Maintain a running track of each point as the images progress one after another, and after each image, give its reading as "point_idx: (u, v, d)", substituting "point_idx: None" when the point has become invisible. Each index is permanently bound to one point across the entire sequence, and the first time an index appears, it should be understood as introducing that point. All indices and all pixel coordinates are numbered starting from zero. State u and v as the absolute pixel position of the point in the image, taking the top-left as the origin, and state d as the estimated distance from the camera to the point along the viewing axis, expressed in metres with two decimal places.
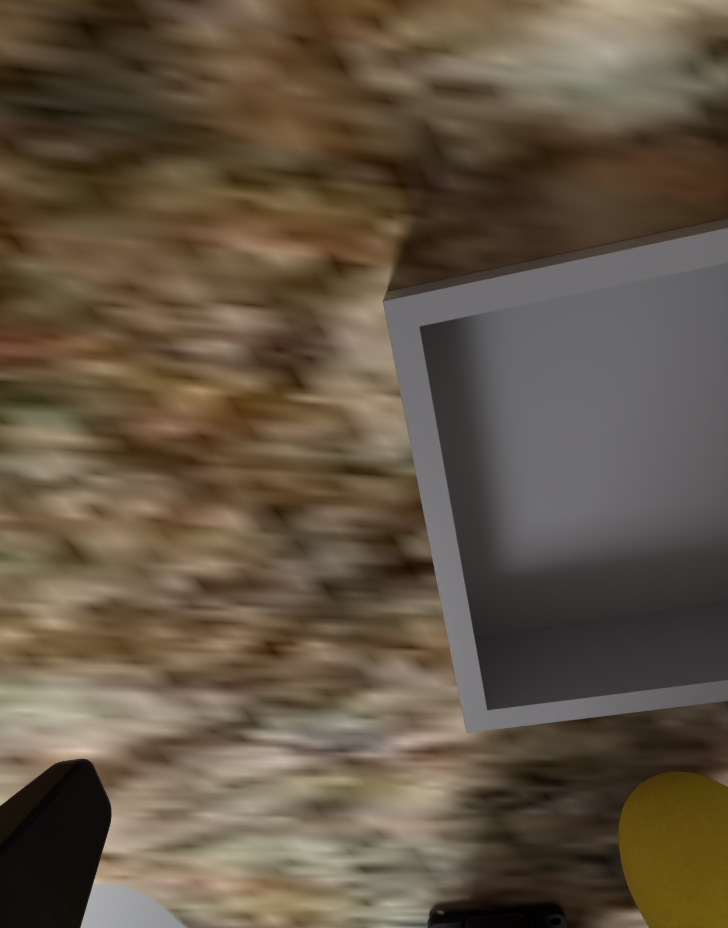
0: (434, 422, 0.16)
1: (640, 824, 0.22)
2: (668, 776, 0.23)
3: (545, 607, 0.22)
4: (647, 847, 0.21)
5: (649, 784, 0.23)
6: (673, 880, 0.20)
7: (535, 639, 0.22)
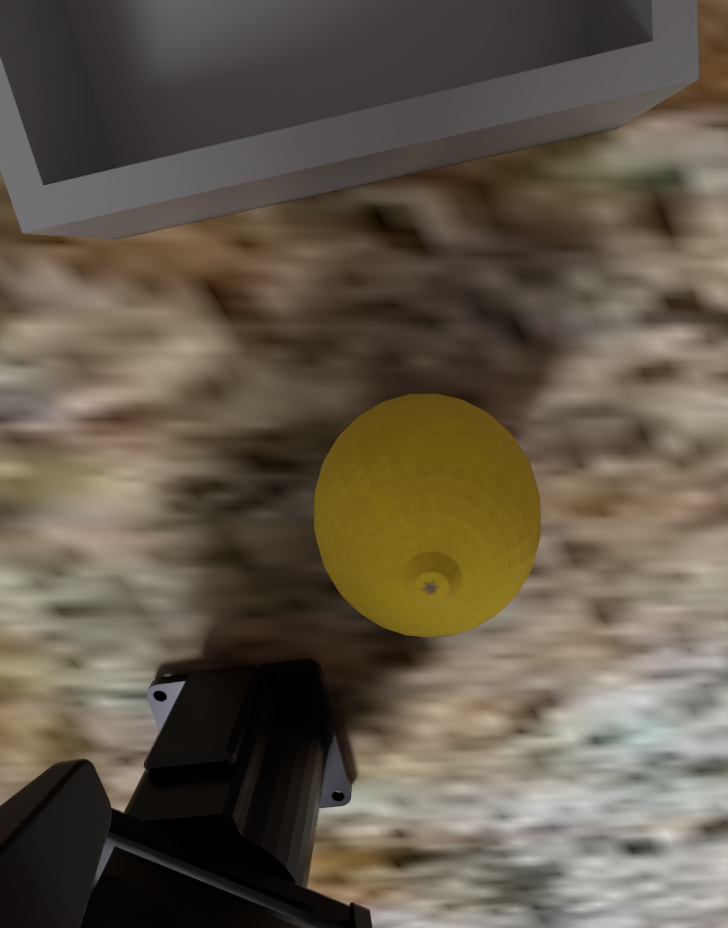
0: None
1: None
2: None
3: (214, 143, 0.16)
4: (329, 455, 0.14)
5: None
6: (338, 468, 0.13)
7: None
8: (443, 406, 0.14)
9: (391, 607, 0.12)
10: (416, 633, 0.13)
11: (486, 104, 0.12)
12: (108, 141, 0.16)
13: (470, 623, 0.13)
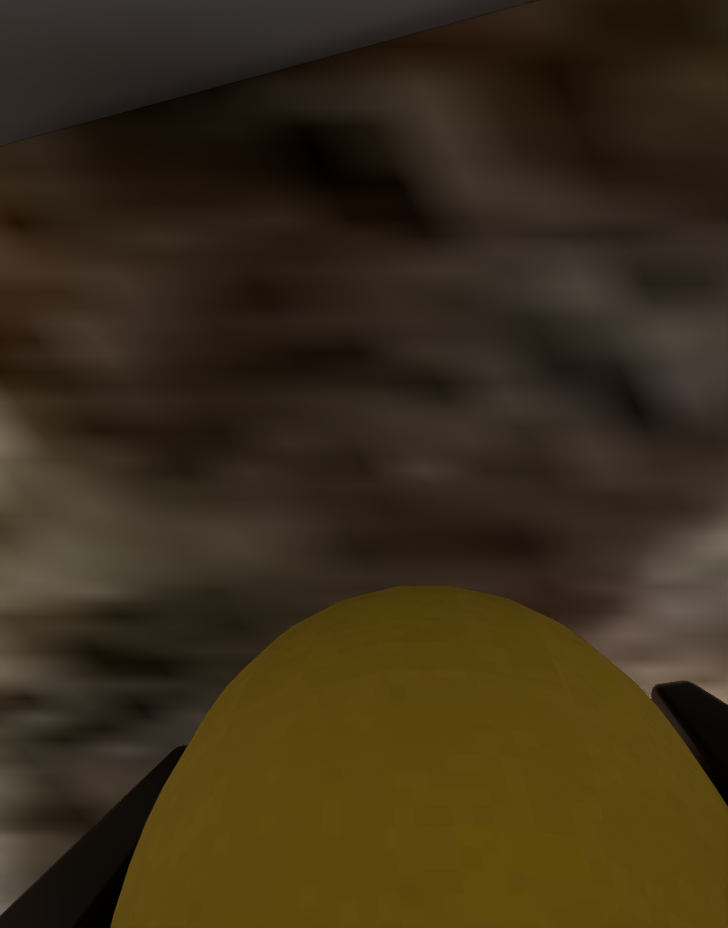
0: None
1: None
2: (365, 594, 0.07)
3: None
4: (149, 829, 0.05)
5: (301, 622, 0.07)
6: None
7: None
8: (495, 724, 0.04)
9: None
10: None
11: None
12: None
13: None
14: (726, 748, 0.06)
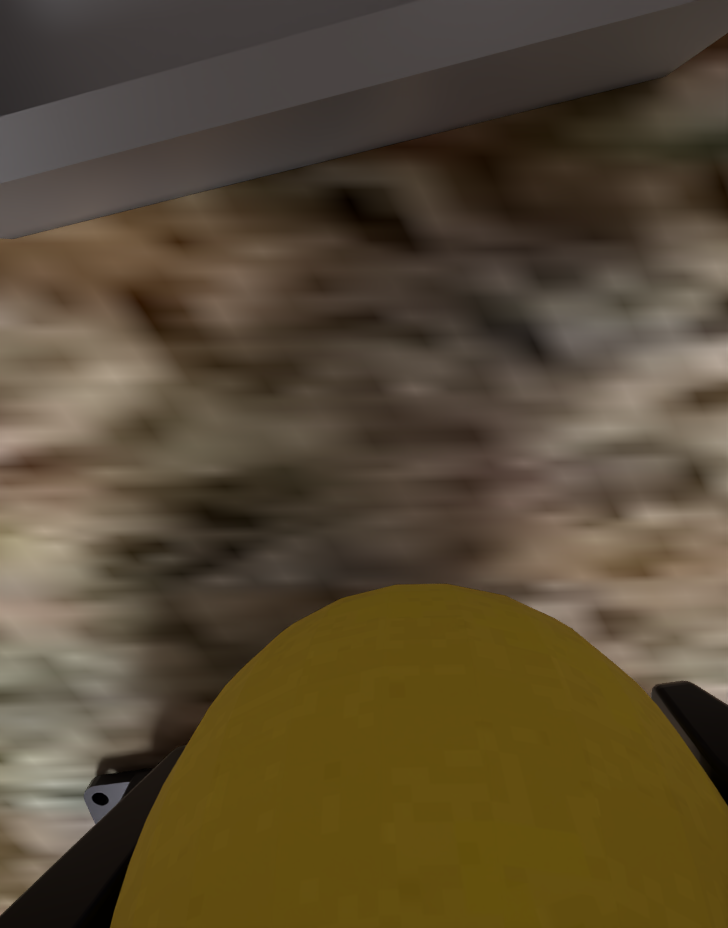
0: None
1: None
2: (365, 592, 0.07)
3: None
4: (150, 825, 0.05)
5: (301, 620, 0.07)
6: None
7: None
8: (493, 720, 0.04)
9: None
10: None
11: (493, 17, 0.08)
12: None
13: None
14: (726, 748, 0.06)
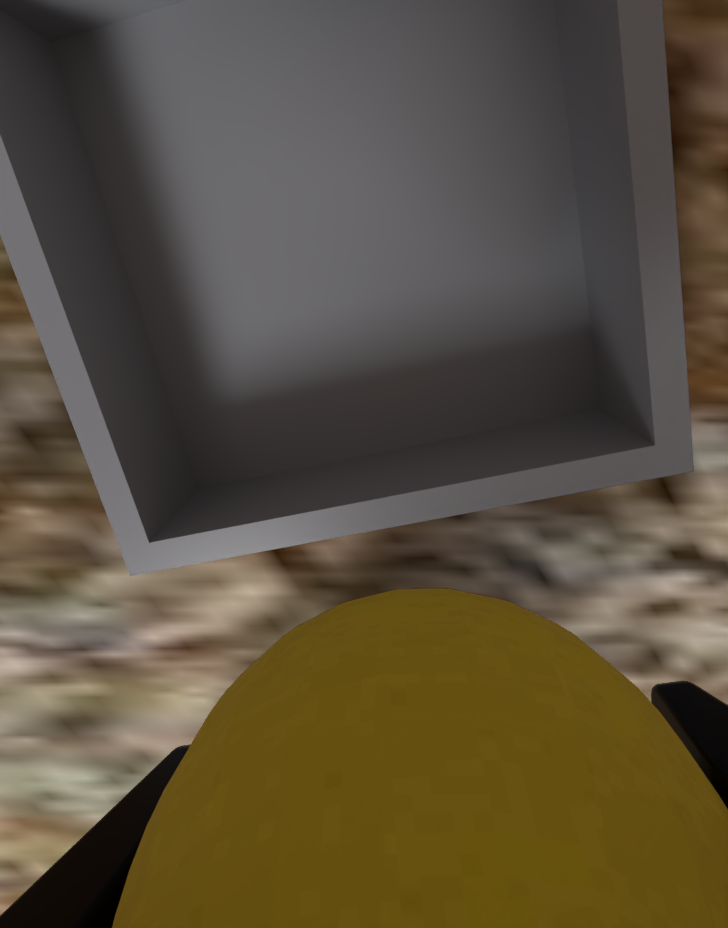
0: None
1: None
2: (366, 597, 0.07)
3: (277, 445, 0.18)
4: (150, 832, 0.05)
5: (302, 624, 0.07)
6: None
7: (261, 482, 0.18)
8: (496, 729, 0.04)
9: None
10: None
11: (519, 487, 0.14)
12: (185, 444, 0.18)
13: None
14: (725, 748, 0.06)
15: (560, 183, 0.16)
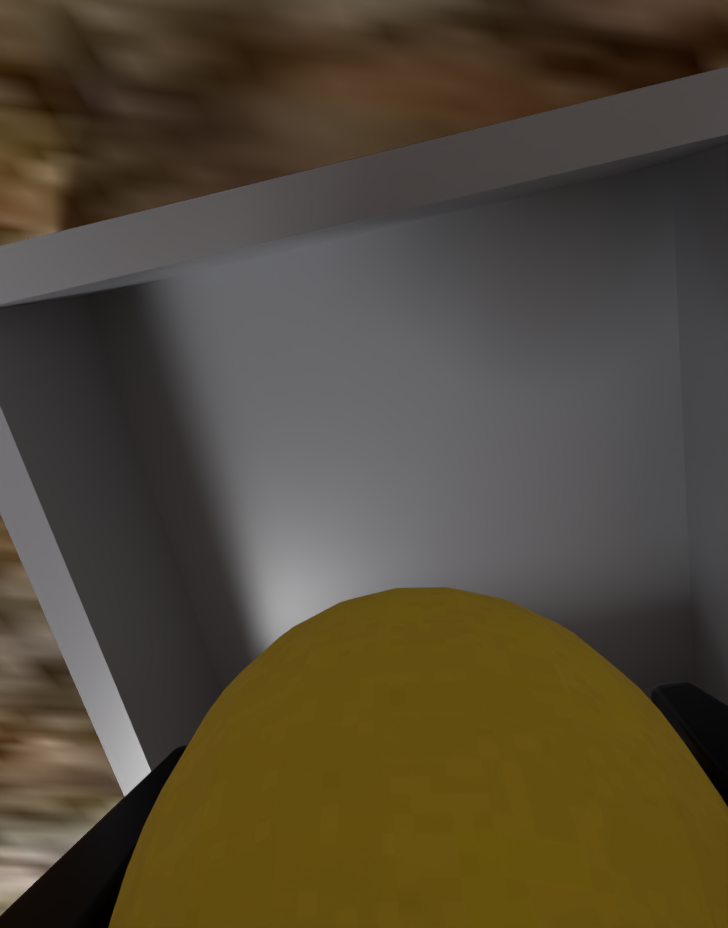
0: (22, 466, 0.10)
1: None
2: (365, 596, 0.07)
3: None
4: (147, 832, 0.05)
5: (301, 623, 0.07)
6: None
7: None
8: (495, 728, 0.04)
9: None
10: None
11: None
12: None
13: None
14: (725, 748, 0.06)
15: (668, 462, 0.14)
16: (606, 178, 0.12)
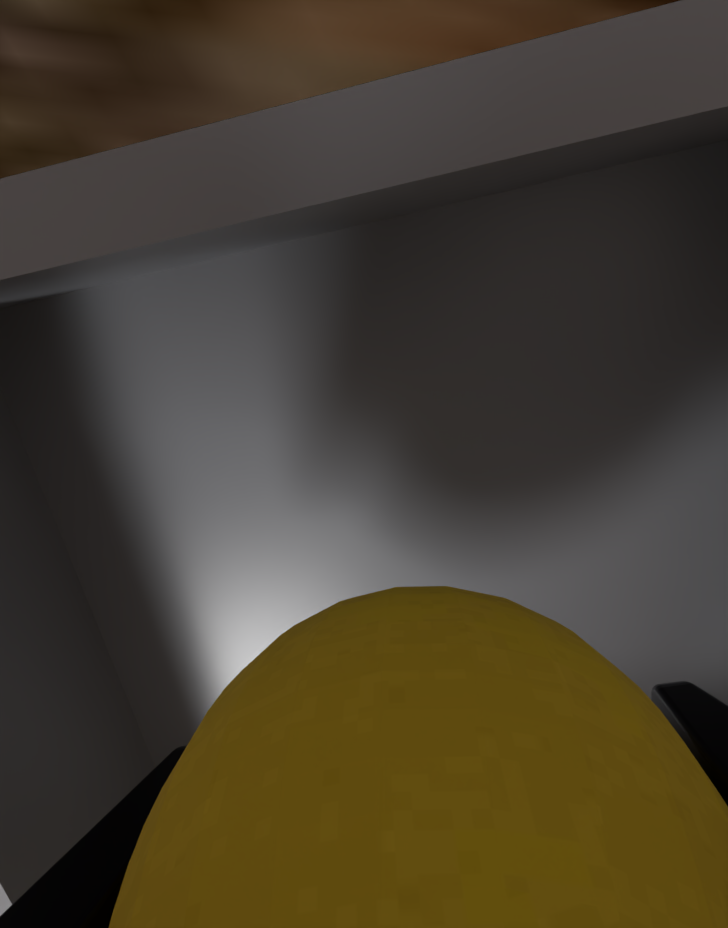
0: None
1: None
2: (365, 595, 0.07)
3: None
4: (148, 830, 0.05)
5: (301, 622, 0.07)
6: None
7: None
8: (493, 728, 0.04)
9: None
10: None
11: None
12: None
13: None
14: (725, 748, 0.06)
15: None
16: (692, 149, 0.08)
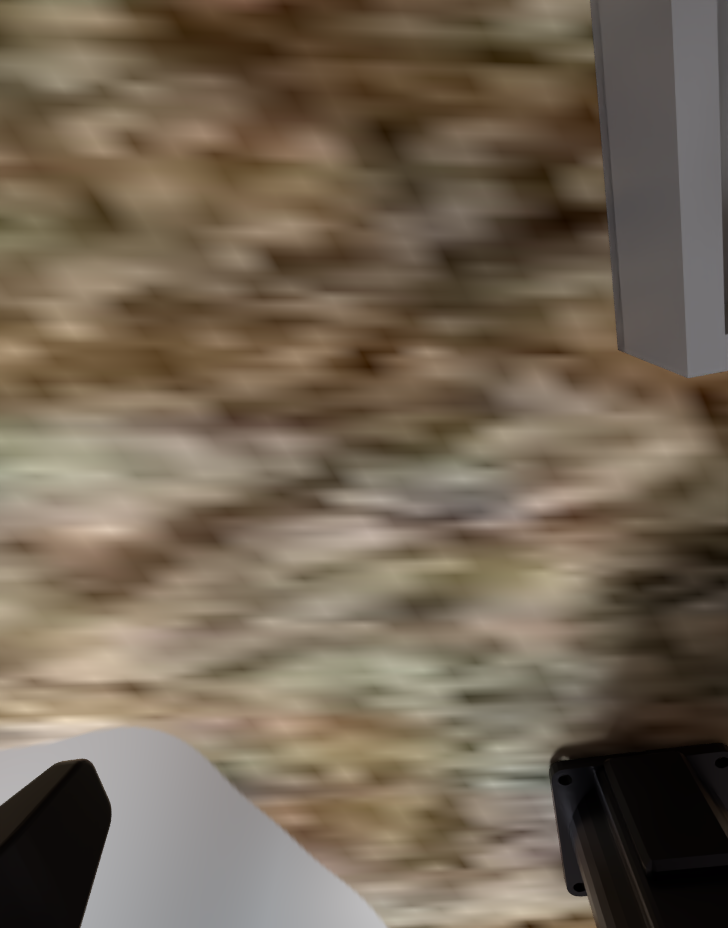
0: None
1: None
2: None
3: None
4: None
5: None
6: None
7: None
8: None
9: None
10: None
11: None
12: None
13: None
14: None
15: None
16: None
